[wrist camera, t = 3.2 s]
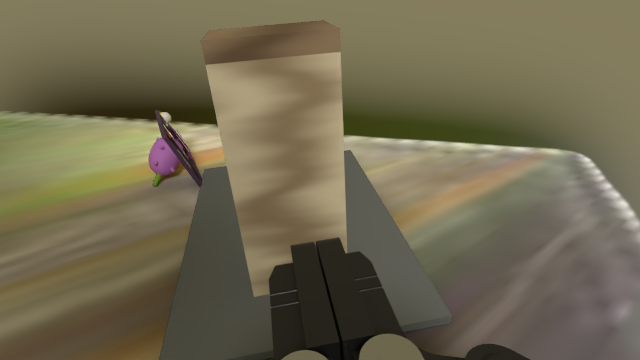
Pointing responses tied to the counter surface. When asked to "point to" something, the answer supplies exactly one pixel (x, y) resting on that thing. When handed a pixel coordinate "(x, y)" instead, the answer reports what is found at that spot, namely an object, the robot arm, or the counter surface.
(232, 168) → the beech block
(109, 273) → the counter surface
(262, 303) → the rubber mat
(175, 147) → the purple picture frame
